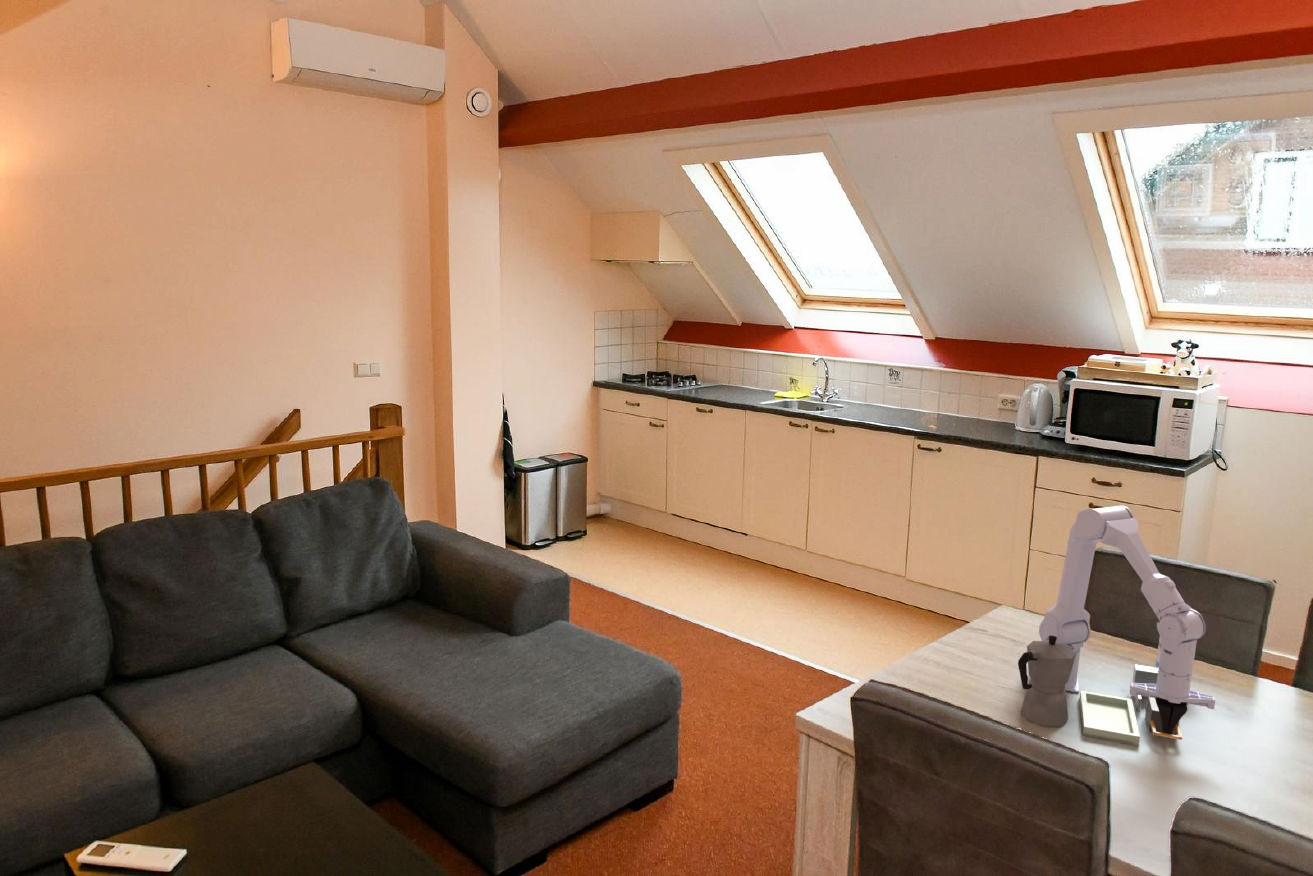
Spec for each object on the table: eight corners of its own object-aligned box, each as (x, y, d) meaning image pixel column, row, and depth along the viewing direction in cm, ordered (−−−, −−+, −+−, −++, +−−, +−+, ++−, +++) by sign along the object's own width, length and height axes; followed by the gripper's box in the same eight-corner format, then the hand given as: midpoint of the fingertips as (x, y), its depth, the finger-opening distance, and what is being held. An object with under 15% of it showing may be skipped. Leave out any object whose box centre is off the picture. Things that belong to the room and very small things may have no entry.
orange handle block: (1151, 745, 184) (1155, 722, 183) (1145, 716, 195) (1148, 694, 194) (1180, 750, 182) (1183, 727, 181) (1172, 720, 193) (1175, 698, 192)
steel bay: (1136, 711, 197) (1139, 685, 196) (1131, 689, 207) (1134, 664, 206) (1179, 719, 194) (1182, 692, 193) (1171, 696, 204) (1175, 670, 203)
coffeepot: (1048, 700, 201) (1057, 622, 198) (1085, 720, 193) (1094, 639, 189) (995, 715, 195) (1003, 634, 191) (1031, 736, 186) (1040, 652, 183)
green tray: (1083, 735, 187) (1084, 726, 187) (1079, 698, 202) (1080, 690, 202) (1138, 746, 183) (1140, 736, 183) (1130, 707, 199) (1131, 699, 198)
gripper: (1135, 672, 181) (1127, 736, 183) (1221, 685, 175) (1211, 751, 178) (1132, 657, 187) (1124, 719, 190) (1214, 670, 182) (1205, 734, 185)
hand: (1166, 734), depth 184 cm, fingers closed, pressing on orange handle block
